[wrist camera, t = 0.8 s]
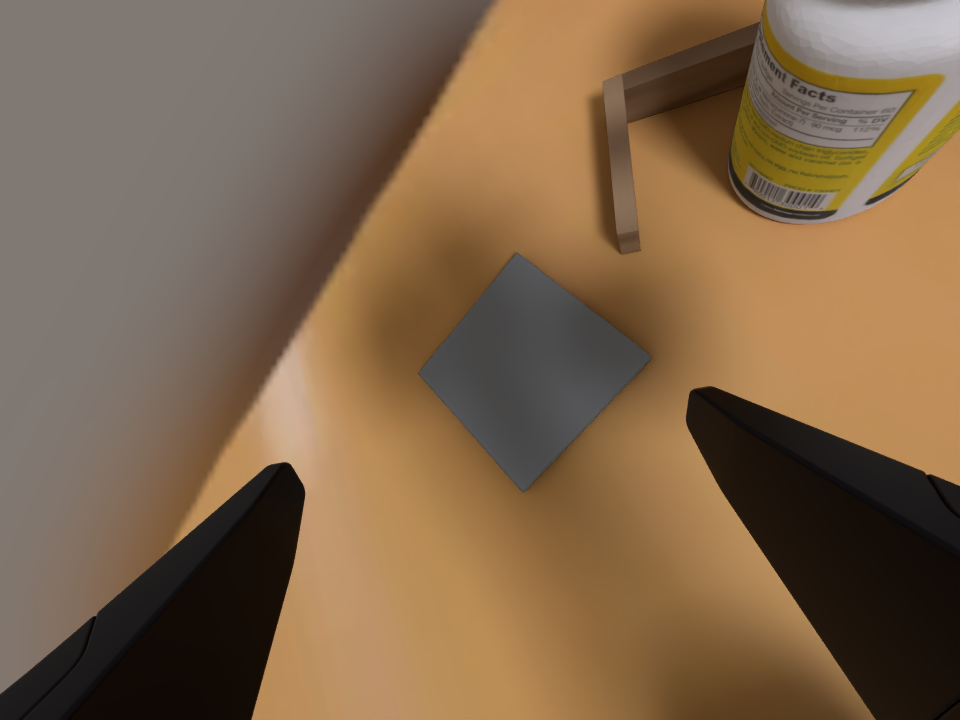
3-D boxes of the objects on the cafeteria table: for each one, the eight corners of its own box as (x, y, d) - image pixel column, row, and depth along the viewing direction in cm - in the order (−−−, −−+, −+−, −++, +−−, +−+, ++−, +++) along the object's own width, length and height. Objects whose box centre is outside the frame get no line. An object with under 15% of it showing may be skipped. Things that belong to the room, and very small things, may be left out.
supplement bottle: (893, 59, 18) (1328, -618, 6) (943, 199, 16) (1627, -343, 5) (711, 123, 21) (776, -257, 9) (739, 246, 19) (859, -20, 8)
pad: (652, 358, 20) (651, 356, 20) (525, 490, 22) (522, 492, 21) (520, 256, 24) (517, 252, 24) (422, 374, 26) (417, 373, 25)
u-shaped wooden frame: (1137, 152, 14) (1226, 102, 12) (621, 254, 22) (616, 234, 19) (1065, -42, 16) (1132, -120, 14) (608, 114, 23) (602, 81, 21)
